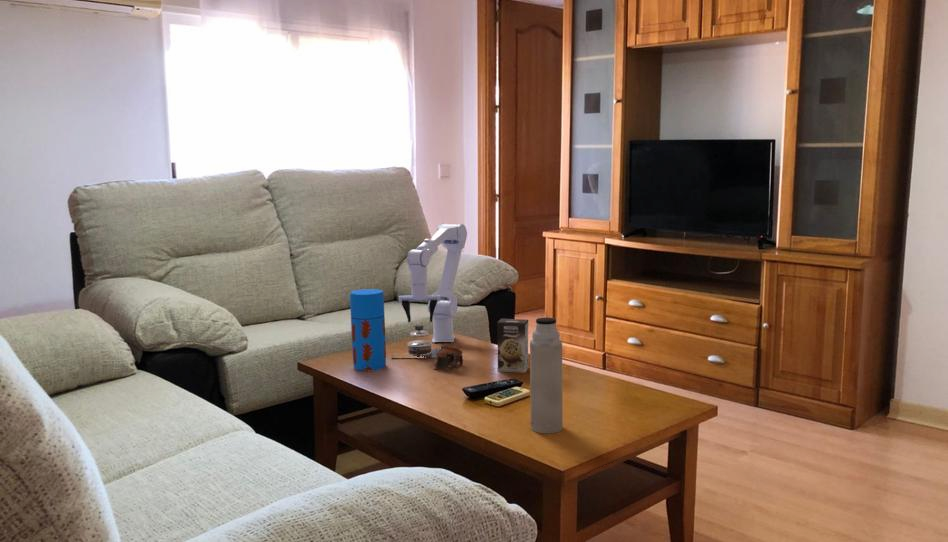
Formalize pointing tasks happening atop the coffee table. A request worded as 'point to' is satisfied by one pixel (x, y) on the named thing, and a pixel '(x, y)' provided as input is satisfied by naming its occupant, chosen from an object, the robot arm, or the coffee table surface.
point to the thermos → (368, 329)
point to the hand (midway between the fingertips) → (420, 321)
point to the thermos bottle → (546, 377)
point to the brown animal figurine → (448, 358)
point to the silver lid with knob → (419, 331)
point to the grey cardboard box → (513, 345)
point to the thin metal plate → (422, 349)
